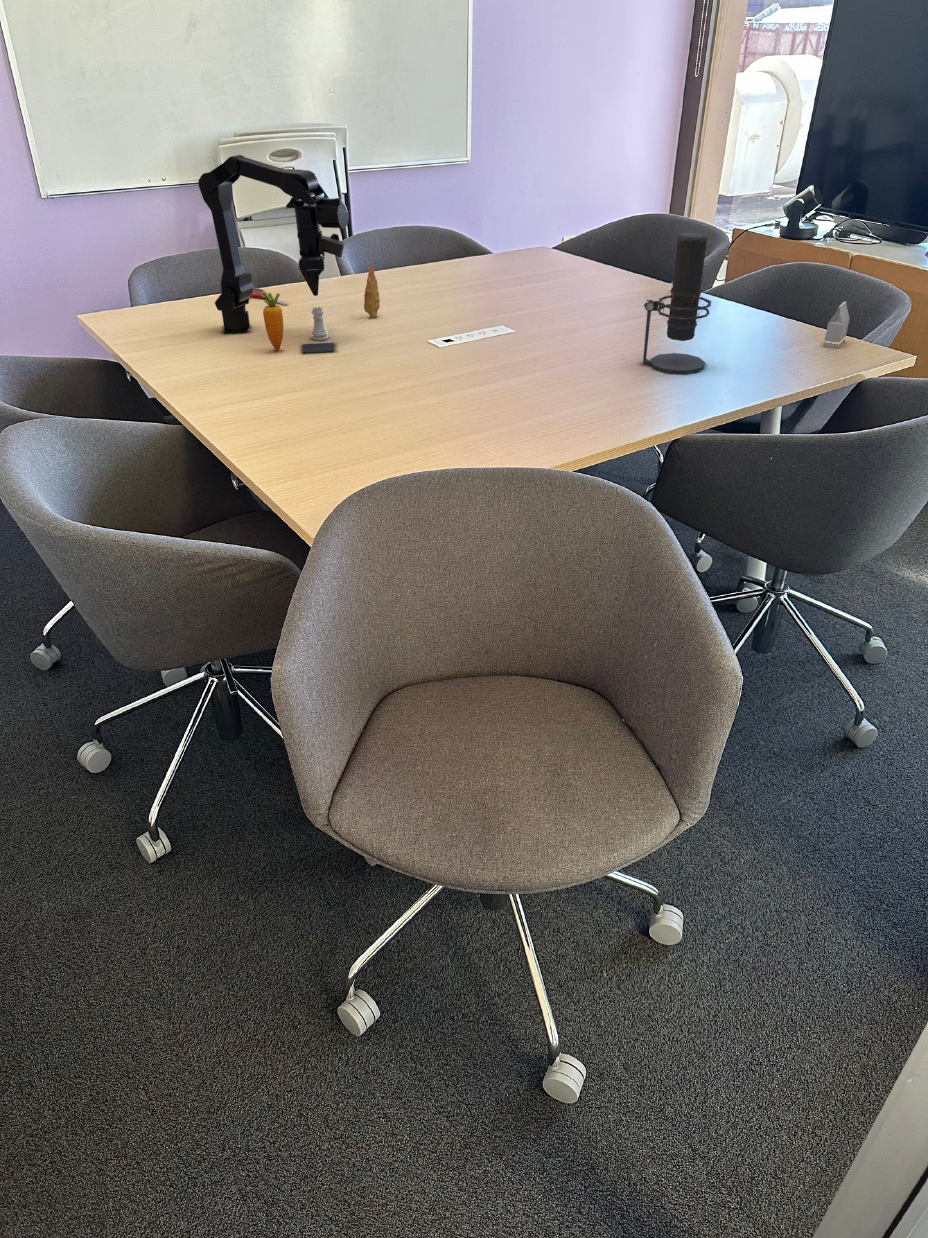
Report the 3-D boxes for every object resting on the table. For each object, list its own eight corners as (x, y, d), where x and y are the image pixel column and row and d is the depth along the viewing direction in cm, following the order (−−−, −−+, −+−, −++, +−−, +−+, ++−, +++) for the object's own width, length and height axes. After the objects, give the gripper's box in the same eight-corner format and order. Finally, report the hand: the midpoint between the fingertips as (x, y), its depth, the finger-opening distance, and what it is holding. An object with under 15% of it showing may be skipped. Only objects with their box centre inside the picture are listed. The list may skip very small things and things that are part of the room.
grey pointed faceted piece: (844, 341, 235) (853, 302, 229) (838, 348, 230) (846, 308, 224) (830, 339, 236) (838, 300, 231) (823, 346, 232) (831, 306, 226)
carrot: (290, 348, 235) (283, 289, 226) (281, 354, 231) (274, 294, 222) (273, 347, 236) (266, 287, 228) (264, 352, 232) (256, 292, 224)
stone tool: (369, 320, 256) (366, 264, 248) (364, 318, 257) (360, 263, 249) (382, 316, 259) (378, 261, 251) (376, 314, 261) (372, 260, 252)
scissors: (285, 305, 270) (284, 300, 269) (234, 296, 279) (233, 291, 279) (302, 299, 275) (301, 294, 275) (251, 291, 285) (251, 286, 284)
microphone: (668, 378, 213) (684, 243, 196) (634, 362, 222) (646, 232, 206) (716, 368, 218) (735, 236, 201) (680, 353, 228) (696, 226, 211)
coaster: (302, 353, 231) (302, 352, 231) (303, 345, 237) (303, 344, 237) (334, 352, 232) (333, 350, 232) (333, 344, 238) (333, 342, 238)
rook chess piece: (331, 337, 243) (329, 306, 238) (323, 341, 239) (320, 311, 235) (317, 335, 244) (314, 305, 240) (308, 339, 241) (305, 309, 237)
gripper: (340, 231, 219) (347, 297, 228) (340, 218, 235) (346, 281, 243) (294, 234, 218) (303, 300, 227) (297, 221, 234) (305, 283, 243)
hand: (316, 291), depth 235 cm, fingers open, 9 cm apart
